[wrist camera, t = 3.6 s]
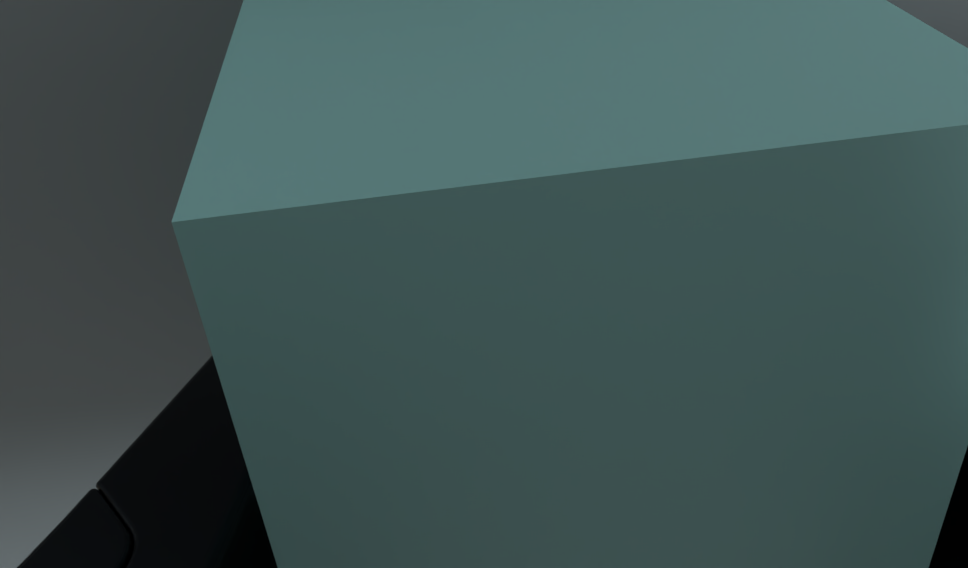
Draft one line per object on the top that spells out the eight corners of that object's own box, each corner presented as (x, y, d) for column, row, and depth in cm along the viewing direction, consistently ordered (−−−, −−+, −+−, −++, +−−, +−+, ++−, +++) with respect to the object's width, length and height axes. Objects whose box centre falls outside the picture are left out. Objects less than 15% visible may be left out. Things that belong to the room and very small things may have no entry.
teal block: (708, -107, 8) (1085, 113, 4) (671, 450, 12) (841, 851, 8) (261, -60, 8) (167, 224, 4) (372, 494, 12) (386, 931, 8)
